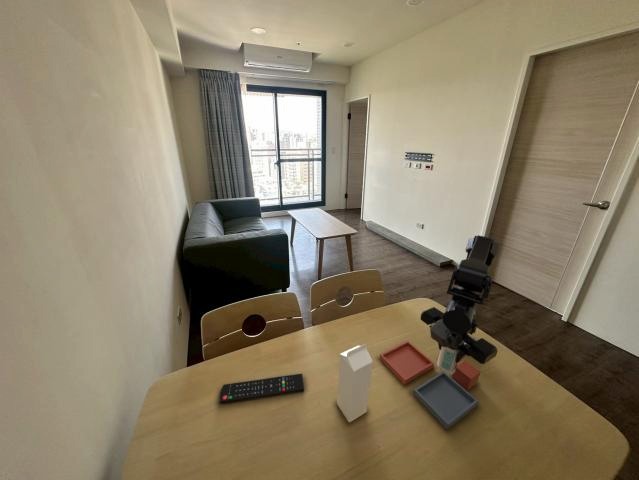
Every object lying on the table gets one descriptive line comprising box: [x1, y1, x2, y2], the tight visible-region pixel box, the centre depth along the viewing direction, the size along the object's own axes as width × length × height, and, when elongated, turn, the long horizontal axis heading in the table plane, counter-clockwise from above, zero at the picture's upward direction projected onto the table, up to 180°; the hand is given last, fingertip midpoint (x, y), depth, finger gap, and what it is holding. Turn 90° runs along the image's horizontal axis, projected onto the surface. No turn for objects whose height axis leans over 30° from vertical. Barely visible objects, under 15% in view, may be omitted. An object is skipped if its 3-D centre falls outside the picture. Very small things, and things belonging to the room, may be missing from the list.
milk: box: [336, 343, 374, 423], centre depth 66 cm, size 6×6×22 cm
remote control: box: [219, 373, 305, 404], centre depth 74 cm, size 5×24×1 cm, turn 100°
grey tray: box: [412, 371, 479, 431], centre depth 72 cm, size 13×11×2 cm
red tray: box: [379, 340, 435, 386], centre depth 84 cm, size 13×11×2 cm
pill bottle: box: [436, 341, 464, 375], centre depth 70 cm, size 5×5×12 cm
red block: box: [451, 360, 482, 391], centre depth 77 cm, size 5×5×5 cm
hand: (448, 355), depth 71 cm, fingers closed on pill bottle, 5 cm apart
